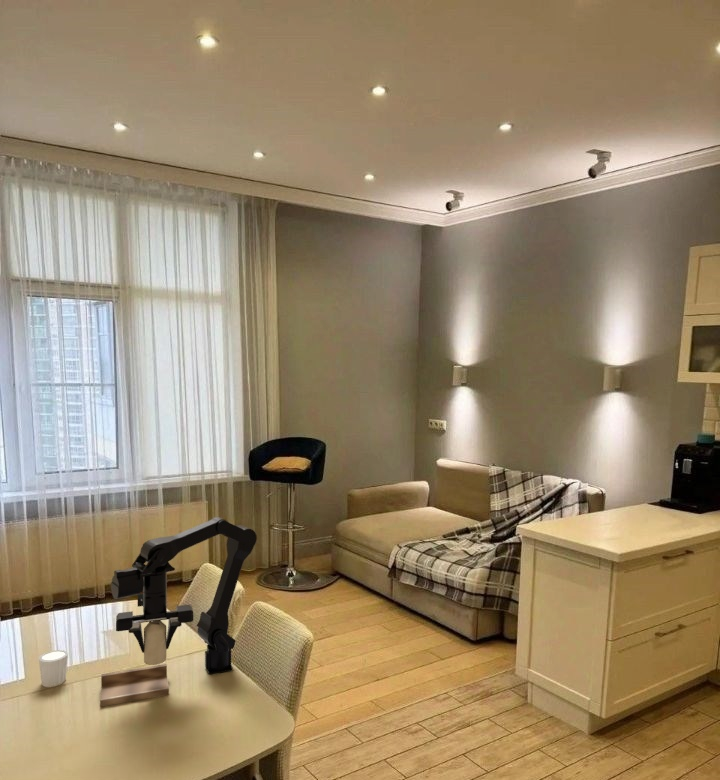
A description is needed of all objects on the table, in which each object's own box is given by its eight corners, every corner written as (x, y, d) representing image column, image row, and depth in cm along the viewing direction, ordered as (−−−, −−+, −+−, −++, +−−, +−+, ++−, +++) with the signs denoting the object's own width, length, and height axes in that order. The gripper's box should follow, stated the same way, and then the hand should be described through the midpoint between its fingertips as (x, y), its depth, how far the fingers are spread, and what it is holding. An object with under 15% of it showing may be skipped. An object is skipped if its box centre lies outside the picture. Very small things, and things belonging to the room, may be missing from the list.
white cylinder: (38, 690, 156) (38, 663, 156) (39, 678, 162) (38, 652, 162) (68, 684, 159) (68, 657, 159) (67, 673, 165) (67, 647, 165)
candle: (159, 666, 154) (159, 627, 154) (139, 664, 155) (139, 625, 155) (170, 656, 159) (170, 618, 159) (151, 654, 160) (151, 617, 160)
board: (166, 678, 162) (166, 663, 162) (168, 694, 154) (168, 679, 154) (101, 689, 157) (101, 674, 157) (100, 706, 148) (100, 690, 148)
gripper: (189, 576, 168) (190, 633, 168) (117, 584, 161) (117, 643, 161) (193, 589, 157) (193, 649, 157) (115, 598, 151) (116, 661, 151)
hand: (155, 650), depth 157 cm, fingers closed on candle, 5 cm apart
